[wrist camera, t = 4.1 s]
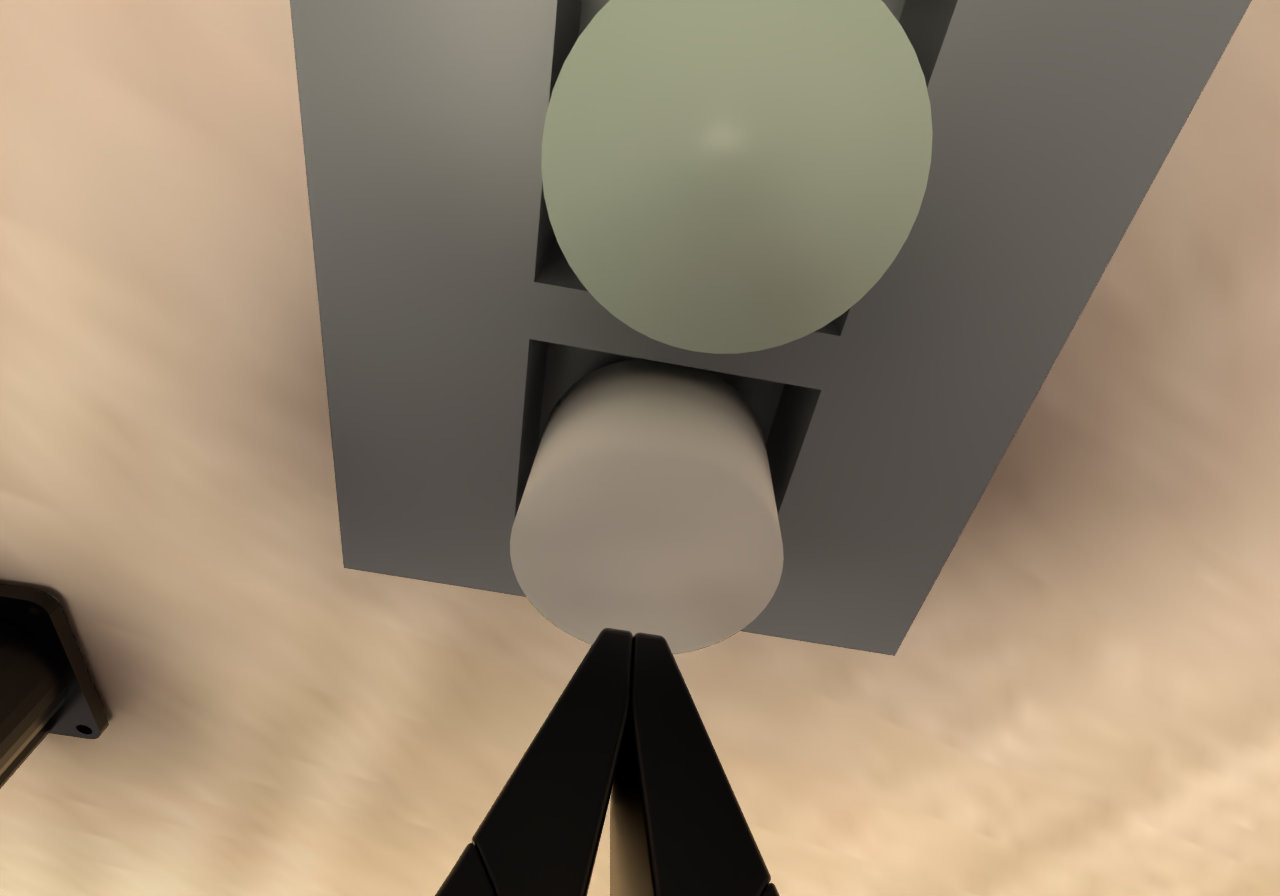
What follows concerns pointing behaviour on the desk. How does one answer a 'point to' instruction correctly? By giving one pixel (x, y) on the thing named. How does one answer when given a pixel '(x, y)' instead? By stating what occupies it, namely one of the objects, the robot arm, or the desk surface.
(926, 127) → the button sage
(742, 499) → the button ivory
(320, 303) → the grey compartment tray
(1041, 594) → the desk surface
